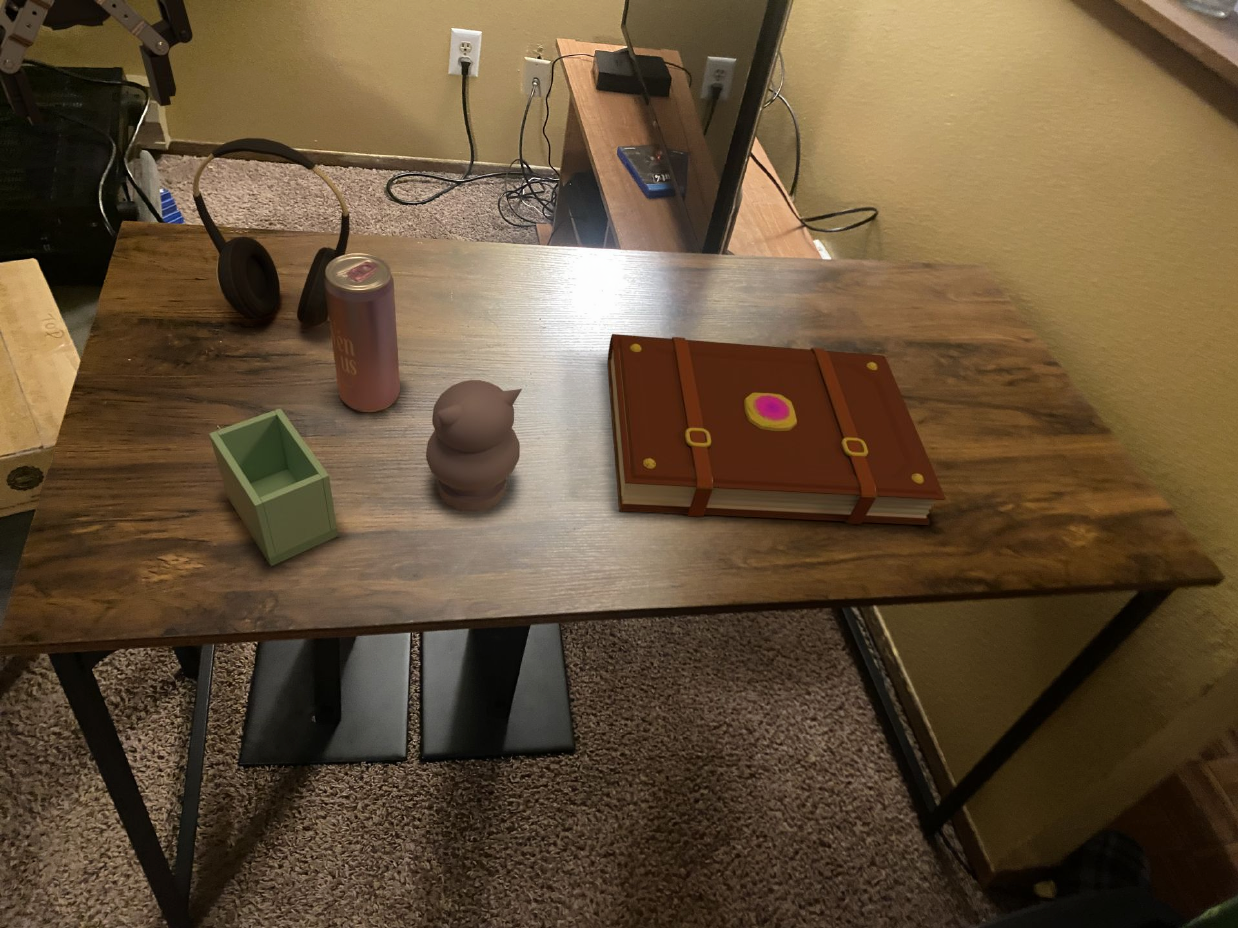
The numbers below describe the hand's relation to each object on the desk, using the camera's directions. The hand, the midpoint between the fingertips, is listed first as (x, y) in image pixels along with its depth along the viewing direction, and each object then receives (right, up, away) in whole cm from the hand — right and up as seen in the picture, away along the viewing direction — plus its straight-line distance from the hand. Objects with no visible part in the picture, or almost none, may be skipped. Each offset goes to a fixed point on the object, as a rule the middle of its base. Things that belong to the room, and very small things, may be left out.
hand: (101, 110), depth 61 cm
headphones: (+2, -10, +30) cm, 32 cm away
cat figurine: (+24, -28, +18) cm, 41 cm away
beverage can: (+13, -19, +24) cm, 33 cm away
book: (+53, -23, +28) cm, 64 cm away
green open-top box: (+6, -25, +11) cm, 28 cm away
